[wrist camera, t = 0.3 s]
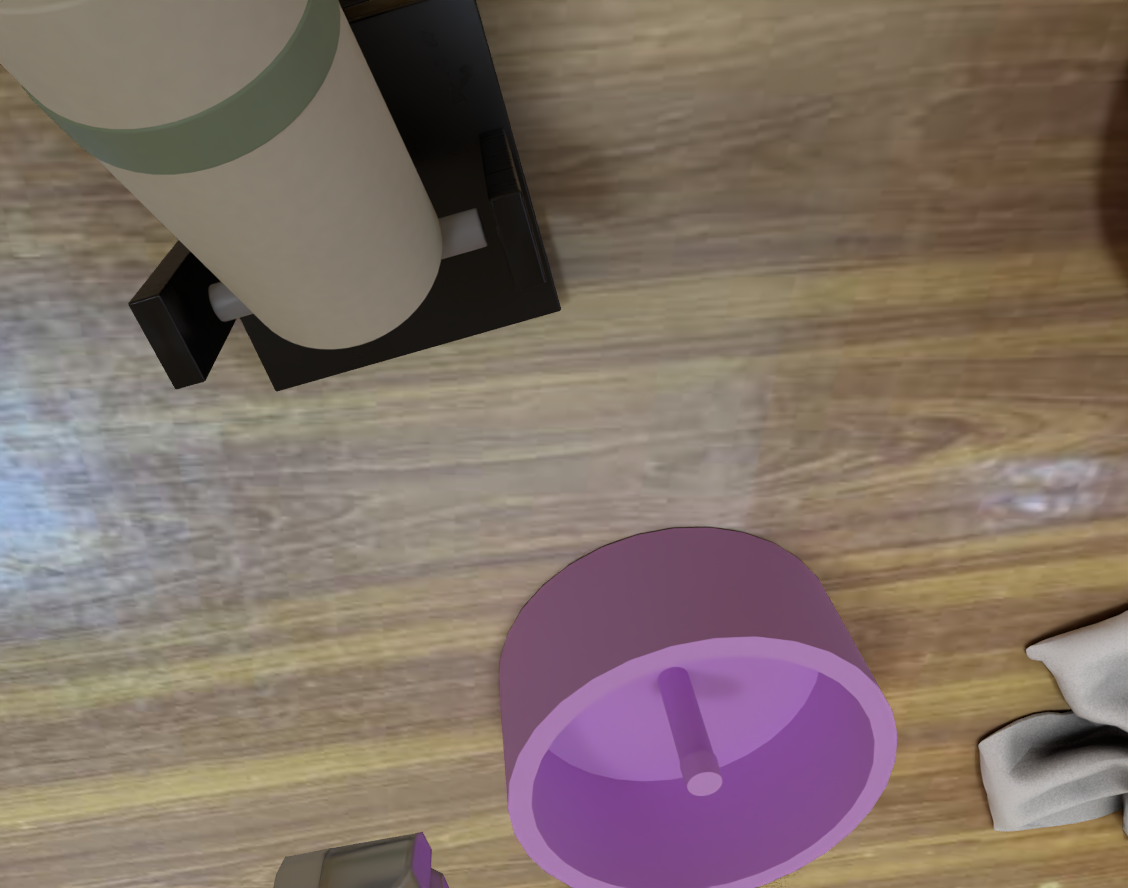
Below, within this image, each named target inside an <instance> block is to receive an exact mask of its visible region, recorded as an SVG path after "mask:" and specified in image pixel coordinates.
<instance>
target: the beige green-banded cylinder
mask: <svg viewBox="0 0 1128 888" xmlns="http://www.w3.org/2000/svg"><path fill="white" fill-rule="evenodd" d="M0 64H1V65H2V66H3V67H4V68H5V69H6V70H7V71H8V72H9V73H10V74H11V75H12V76H13V77H14V78H15V79H16V80H17V81H18V82H19V83H20V84H21V85H22V87H23V89H24V90H25V91H26V92H27V94H28V95H29V96H30V97H31V99H32V100H33V101H34V102H35V103H36V104H37V105H38V106H39V107H40V108H41V109H42V110H43V111H44V112H45V113H46V114H47V115H48V116H49V117H50V118H51V119H52V120H53V121H54V122H55V123H57V124H58V125H59V126H60V127H61V128H62V129H63V130H64V131H65V132H66V133H67V134H68V135H69V136H70V137H71V138H72V139H73V140H74V141H75V142H76V143H77V144H78V145H79V146H81V147H82V148H83V149H84V150H85V151H86V152H88V153H89V154H91V155H93V156H94V157H95V158H96V159H97V160H98V161H99V162H100V163H101V164H102V165H103V166H104V167H105V168H106V169H107V170H109V171H110V172H111V173H112V174H113V175H114V176H115V177H116V178H117V179H118V180H119V181H120V182H121V183H122V184H123V185H124V186H125V187H126V188H127V189H128V190H129V191H130V192H131V193H132V194H133V195H134V196H135V197H136V198H137V199H138V200H139V201H140V202H141V203H142V204H143V205H144V206H145V207H146V208H147V209H148V210H149V211H150V212H151V213H152V214H153V215H154V216H155V217H156V218H157V219H158V220H159V221H160V222H161V223H162V224H163V225H164V226H165V227H166V228H167V229H168V230H169V231H170V232H171V233H172V234H173V235H174V236H175V237H176V238H177V239H178V240H179V241H180V242H181V243H183V244H184V245H185V246H186V247H187V248H188V249H189V250H190V251H191V252H192V253H193V254H194V255H195V256H196V257H197V258H198V259H199V260H200V261H201V262H202V263H203V264H204V265H205V266H206V267H207V268H208V269H209V270H210V271H211V272H212V273H213V274H214V275H215V276H216V277H217V278H218V279H219V280H220V281H221V282H218V283H214V284H211V285H210V286H209V289H208V294H209V300H210V303H211V306H212V308H213V310H214V312H215V314H216V315H217V317H218V318H219V319H220V320H221V321H229V320H233V319H236V318H240V317H243V316H247V315H250V314H254V315H256V316H257V317H258V318H259V319H260V320H261V321H262V322H263V323H264V324H265V325H266V326H267V327H268V328H269V329H270V330H271V331H273V332H274V333H276V334H277V335H279V336H280V337H282V338H284V339H286V340H288V341H290V342H292V343H295V344H298V345H301V346H305V347H310V348H316V349H342V348H349V347H353V346H358V345H362V344H364V343H367V342H370V341H373V340H375V339H377V338H379V337H381V336H383V335H385V334H387V333H388V332H390V331H392V330H393V329H395V328H396V327H398V326H399V325H400V324H401V323H403V322H404V321H405V320H406V319H408V318H409V317H410V316H411V314H412V313H413V312H414V311H415V310H416V309H417V308H418V307H419V306H420V304H421V303H422V302H423V300H424V299H425V298H426V296H427V294H428V293H429V291H430V289H431V287H432V285H433V283H434V281H435V278H436V276H437V273H438V270H439V266H440V262H441V259H445V258H448V257H452V256H455V255H459V254H462V253H466V252H469V251H472V250H476V249H479V248H483V247H486V246H487V245H488V240H487V236H486V232H485V229H484V225H483V222H482V219H481V216H480V213H479V211H478V209H477V208H473V209H470V210H466V211H463V212H459V213H456V214H453V215H449V216H446V217H442V218H439V219H438V217H437V214H436V212H435V210H434V208H433V205H432V203H431V201H430V199H429V197H428V195H427V192H426V190H425V188H424V186H423V184H422V182H421V179H420V177H419V175H418V173H417V171H416V169H415V166H414V164H413V162H412V160H411V158H410V156H409V153H408V151H407V149H406V147H405V145H404V143H403V140H402V138H401V136H400V134H399V132H398V130H397V127H396V125H395V123H394V121H393V119H392V116H391V114H390V112H389V110H388V108H387V106H386V103H385V101H384V99H383V97H382V95H381V93H380V90H379V88H378V86H377V84H376V82H375V80H374V77H373V75H372V73H371V71H370V69H369V67H368V64H367V62H366V60H365V58H364V56H363V54H362V51H361V49H360V47H359V45H358V43H357V41H356V38H355V36H354V34H353V32H352V30H351V28H350V25H349V23H348V21H347V19H346V17H345V14H344V12H343V10H342V8H341V6H340V4H339V0H0Z"/></svg>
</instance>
